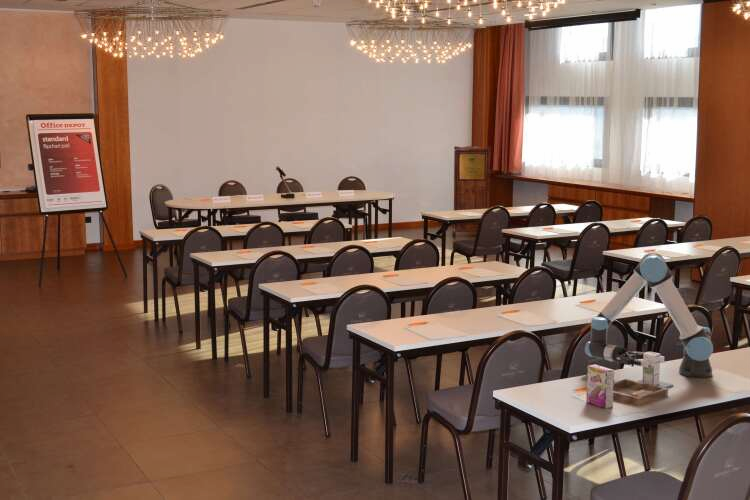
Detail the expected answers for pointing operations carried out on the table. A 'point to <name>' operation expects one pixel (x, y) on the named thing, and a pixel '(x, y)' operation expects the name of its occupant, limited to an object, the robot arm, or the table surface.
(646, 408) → the table surface
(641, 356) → the robot arm
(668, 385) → the grey mat
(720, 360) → the table surface
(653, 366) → the syrup box
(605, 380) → the candy bar box
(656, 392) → the walnut frame
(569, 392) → the table surface
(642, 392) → the top offcut
